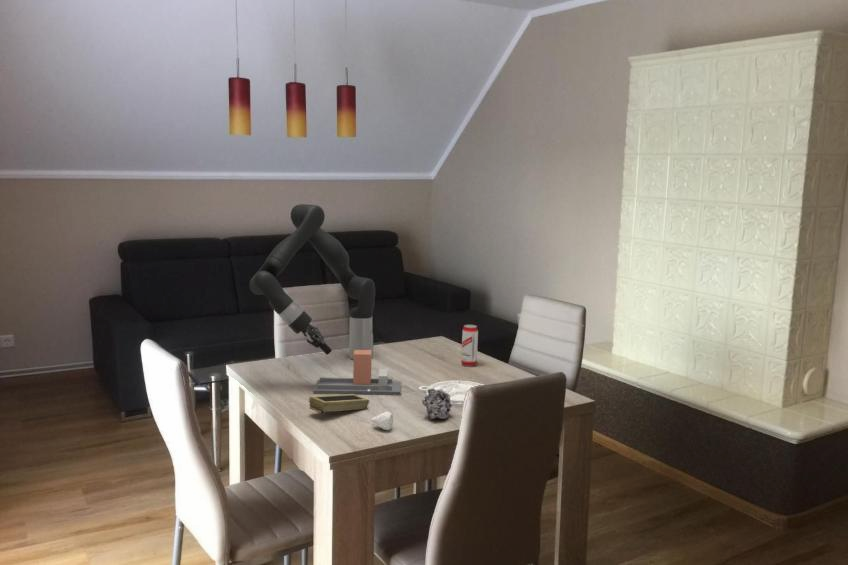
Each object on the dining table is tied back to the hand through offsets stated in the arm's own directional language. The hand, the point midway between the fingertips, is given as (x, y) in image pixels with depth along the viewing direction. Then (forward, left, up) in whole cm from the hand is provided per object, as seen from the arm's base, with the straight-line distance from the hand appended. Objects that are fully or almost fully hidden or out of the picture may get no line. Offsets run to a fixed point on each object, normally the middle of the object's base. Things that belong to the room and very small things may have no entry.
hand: (329, 352), depth 254 cm
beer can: (-55, +29, -13) cm, 63 cm away
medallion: (-18, +41, -14) cm, 47 cm away
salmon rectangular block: (-5, +10, -12) cm, 16 cm away
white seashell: (+23, +36, -13) cm, 45 cm away
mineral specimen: (+4, +45, -13) cm, 47 cm away
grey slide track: (-5, +9, -13) cm, 17 cm away
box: (+17, +17, -13) cm, 27 cm away
